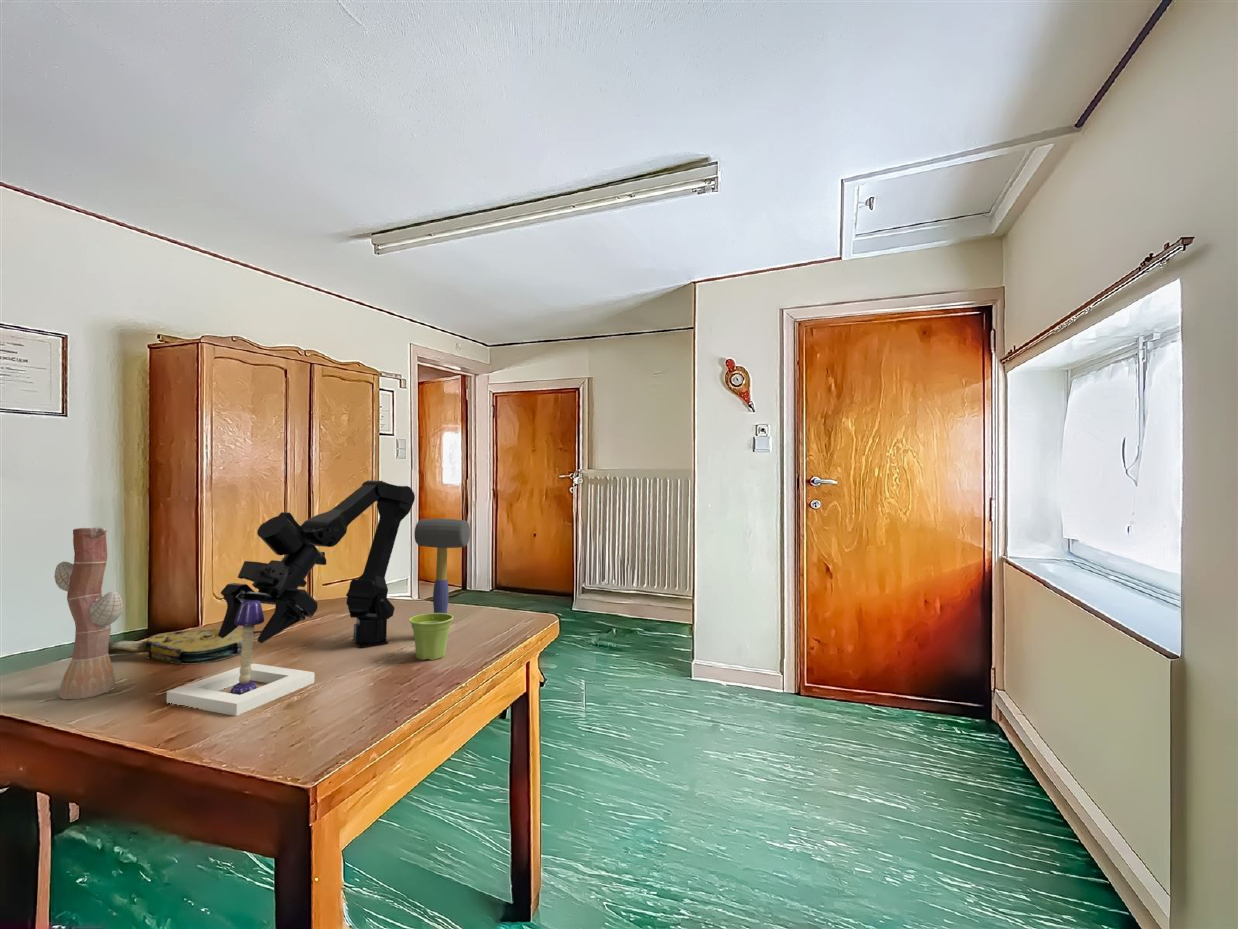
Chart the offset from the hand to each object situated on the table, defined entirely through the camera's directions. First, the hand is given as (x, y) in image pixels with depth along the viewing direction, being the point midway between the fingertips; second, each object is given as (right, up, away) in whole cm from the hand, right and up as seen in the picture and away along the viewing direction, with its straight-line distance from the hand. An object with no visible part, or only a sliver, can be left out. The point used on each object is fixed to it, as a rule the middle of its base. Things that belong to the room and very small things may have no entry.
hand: (239, 639), depth 101 cm
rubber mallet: (+24, -12, +38) cm, 47 cm away
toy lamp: (0, -10, +1) cm, 10 cm away
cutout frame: (0, -10, +1) cm, 10 cm away
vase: (-28, -10, 0) cm, 30 cm away
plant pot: (+27, -12, +24) cm, 38 cm away
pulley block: (-28, -11, +21) cm, 36 cm away
